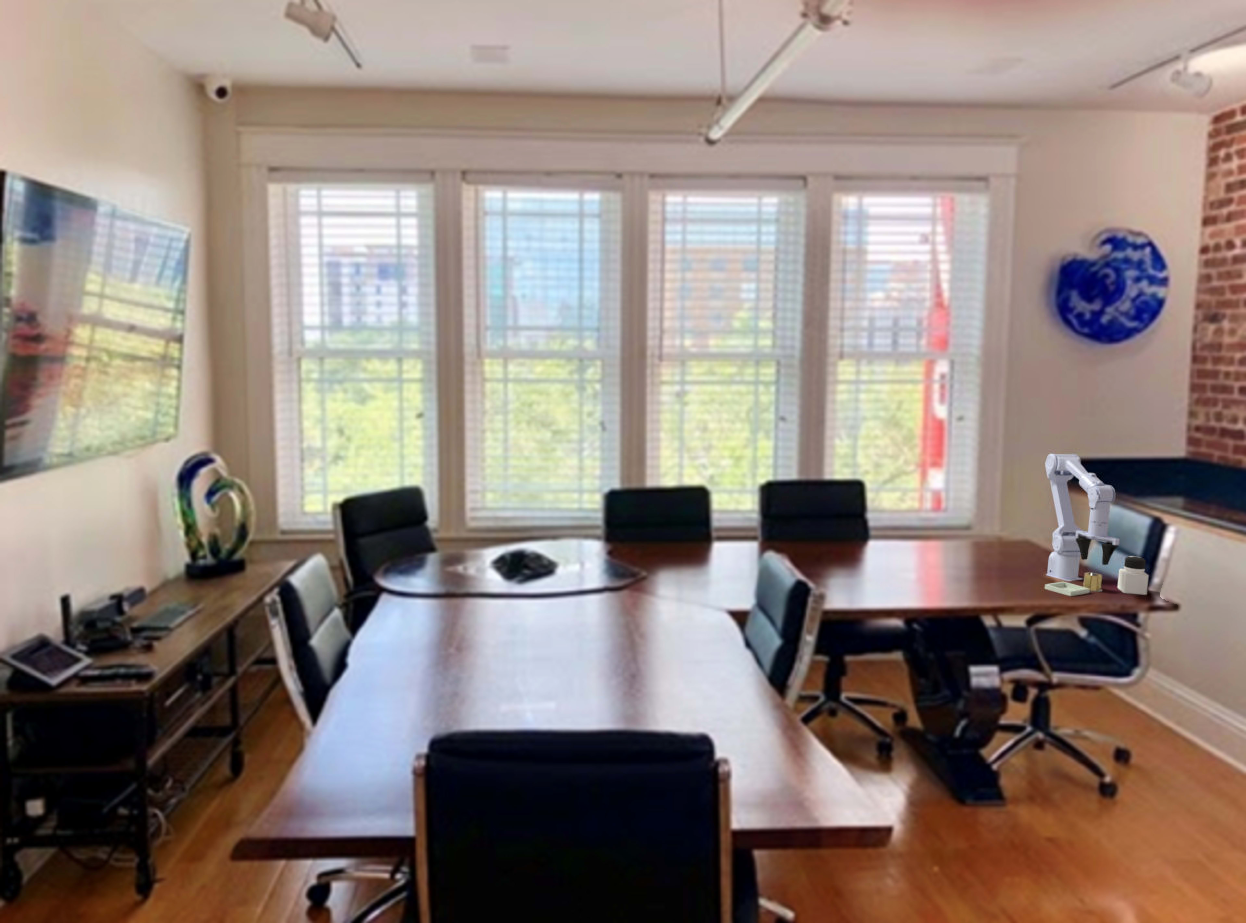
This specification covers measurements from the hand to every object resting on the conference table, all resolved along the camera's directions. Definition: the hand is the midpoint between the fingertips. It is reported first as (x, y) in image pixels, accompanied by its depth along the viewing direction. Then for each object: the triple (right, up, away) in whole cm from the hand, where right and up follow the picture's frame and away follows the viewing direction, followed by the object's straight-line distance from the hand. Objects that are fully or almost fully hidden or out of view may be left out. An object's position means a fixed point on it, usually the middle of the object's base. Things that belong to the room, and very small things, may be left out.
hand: (1094, 561), depth 320 cm
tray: (-10, -10, -2) cm, 14 cm away
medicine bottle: (+13, -11, +1) cm, 16 cm away
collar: (0, -9, +1) cm, 9 cm away
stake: (0, -10, +1) cm, 10 cm away
